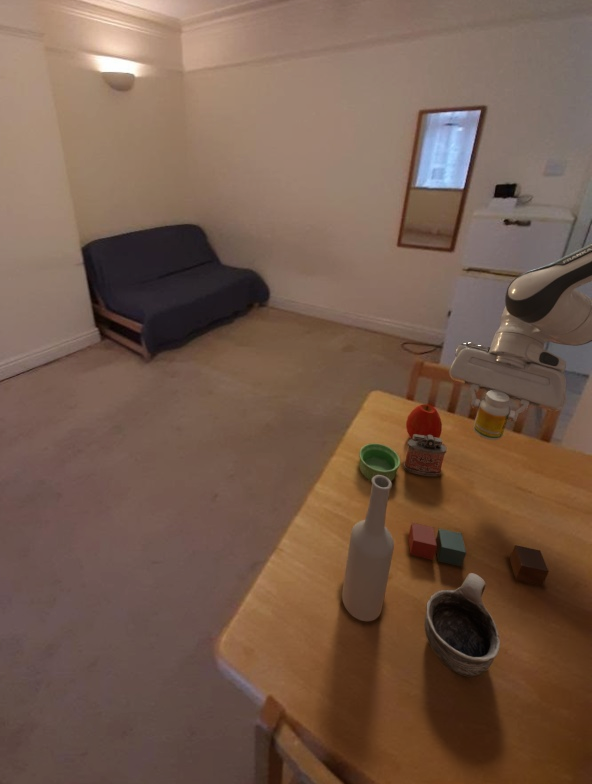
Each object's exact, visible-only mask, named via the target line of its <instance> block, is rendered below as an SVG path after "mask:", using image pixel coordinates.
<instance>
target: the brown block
mask: <svg viewBox="0 0 592 784" xmlns="http://www.w3.org/2000/svg"><path fill="white" fill-rule="evenodd" d="M508 560H509V561H510V562H509V563H510V565H511V570H512V572H513V575H514V578H515V580H516V581H520V582H524V583H527V584H532V585H535V586H540V587H543V585H544V583H545V581H546V579H547V577H548V574H549V572H550V571H549V568H548V566H547V564H546V561H545V558H544V555H543V554H542V551H541V550H540V549H535V548H531V547H527V546H523V545H518V544H514V546H513V549H512V551H511V554H510V556H509V558H508Z"/></svg>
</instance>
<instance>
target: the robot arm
mask: <svg viewBox="0 0 592 784" xmlns="http://www.w3.org/2000/svg"><path fill="white" fill-rule="evenodd" d="M591 282H592V243H590V244H588V245H585V246H583V247H582V248H579V249H577V250H576V251H573V252H572V253H569V254H567V255H565V256H563V257H561V258H559V259H557V260H555V261H553V262H550V263H548V264H545V265H542V266H540V267H537V268H534V269H531V270H528V271H526V272H524V273H521V274H520V275H518V276H516V277H515V278H514V279H512V281H511V282H510V283H509V284H508V286H507V288H506V292H505V296H504V304H505V307H504V308H503V311H502V313H501V317H500V325H499V328H498V329H497V330H496V331H495V333H494V336H493V339H492V341H491V343H490V346H486V345H481V344H477V343H474V342H469V341H468V342H463V343H461V344H459V345H458V346H457V348H456V350H455V353H454V356H455V359H454V360H453V361H452V364H451V366H450V367H449V370H448V374H449V377H450V378H451V380H452V381H456V382H458V383H461V384H464V385H467V386H470V387H469V391H470V394H471V397H472V399H471V402H470V407H471V408H473V409H476V410H478V408H479V404H480V402H481V400H482V399H480V398H477V394H476V393H479V390H483V391H487V392H488V391H490V390H497V391H500V392H503V393H505V394H507V395H508V396H509V398H510V400H511V399H512V400H514V401H517V402H519V407H518V408H517V409H516V410H512V409H510V412H509V415H508V419H507V421H511V422H514V423H516V422H517V419H518V417H519V415H521V414H523V413H524V412H525V411H526V410H528V407H529V405H530V406H533V407H537V408H540V409H543V410H546V411H548V412H549V411H550V412H553V413H555V412H558V411H560V410H562V408H563V405H564V402H565V397H566V392H567V378H566V376H565V374H564V373H565V371H566V368H567V362H566V360H565V359H563V358H561V357H560V356H558V355H556V354H554V353H552V352H550V351H548V350H546V349H544V347H545V345H546V343H548V342H551V343H553V344H557V345H564V346H574V347H575V346H577V347H578V346H582V345H586V344H589V343H591V342H592V298H591V297H589V296H588V295H587V294H586V293H583V292H582V291H580V290H579V289H577V288H579V287H581V286H583V285H587V284H588V283H591Z"/></svg>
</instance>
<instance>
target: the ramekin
mask: <svg viewBox="0 0 592 784" xmlns="http://www.w3.org/2000/svg"><path fill="white" fill-rule="evenodd" d="M358 456H359V457H358V458H359V470H360V473H362V475H363V476H364V477H365V478H366V479H368V480H369V481H372V478H373V477H374V476H376V475H382V476H385V477H387V478H388V479H389V480H390V481H391V482H392V481H393V480H395V477H396V476H397V472H398V469H399V468H400V464H401V459H400V456H399V454H398V453H397V452H396V451H395V450H394V448H391V447H390V446H388V445H385V444H382V443H378V442H377V443H376V442H374V443H368V444H365V445H362V447H361V448H360V449H359V452H358Z"/></svg>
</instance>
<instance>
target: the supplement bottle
mask: <svg viewBox="0 0 592 784" xmlns="http://www.w3.org/2000/svg"><path fill="white" fill-rule="evenodd" d="M480 400H481V402H480V404H479V408H478V409H477V411H476V416H475V419H474V421H473V425H472V428H473V431H474V433H476V435H478V436H479V437H481V438H483V439H485V440H489V441H498V440H500V439H501V438H502V437H503V435H504V432H505V429H506V426H507V422H508V415H509V412H510V410H511V408H510V406H509V404H510V400H511V398H509V396H508V395H507V394H505V393H503V392H500V391H497V390H490V391H487V392H486V394H485V397H484V398H483V399H480Z"/></svg>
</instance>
